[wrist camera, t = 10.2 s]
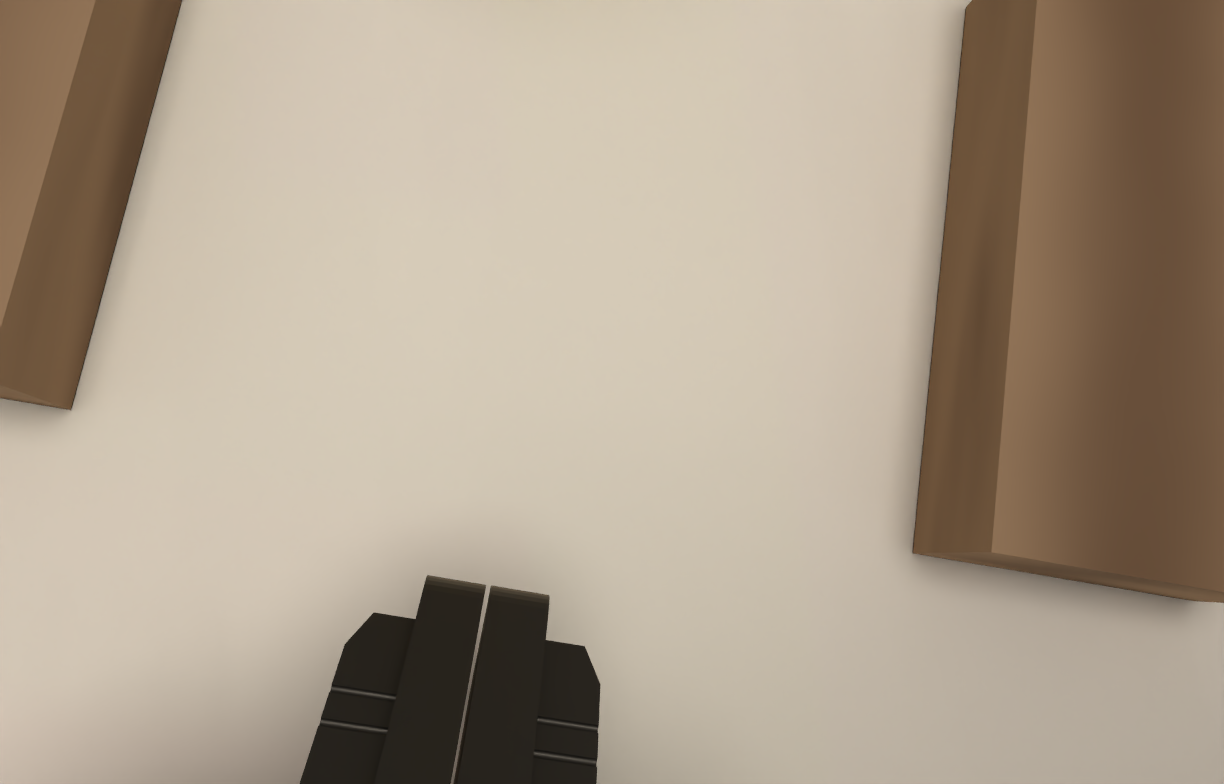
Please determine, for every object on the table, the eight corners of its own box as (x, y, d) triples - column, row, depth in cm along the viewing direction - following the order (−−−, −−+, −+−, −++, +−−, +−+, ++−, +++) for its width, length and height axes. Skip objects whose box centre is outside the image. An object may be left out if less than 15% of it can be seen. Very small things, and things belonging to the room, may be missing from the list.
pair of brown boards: (1216, 64, 22) (1330, -13, 19) (1193, 601, 19) (1319, 608, 16) (-84, -235, 19) (-188, -380, 16) (-286, 349, 17) (-451, 304, 14)
